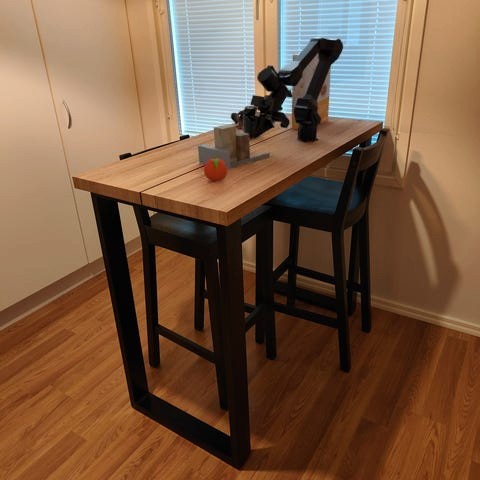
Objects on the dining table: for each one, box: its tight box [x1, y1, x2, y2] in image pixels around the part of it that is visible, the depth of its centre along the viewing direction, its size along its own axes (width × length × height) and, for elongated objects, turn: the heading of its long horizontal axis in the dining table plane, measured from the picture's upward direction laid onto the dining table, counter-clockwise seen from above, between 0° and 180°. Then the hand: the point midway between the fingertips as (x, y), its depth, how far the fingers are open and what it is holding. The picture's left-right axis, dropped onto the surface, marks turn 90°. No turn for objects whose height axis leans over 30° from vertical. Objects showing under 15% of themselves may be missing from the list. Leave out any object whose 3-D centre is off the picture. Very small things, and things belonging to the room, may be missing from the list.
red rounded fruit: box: [203, 158, 228, 183], centre depth 125 cm, size 8×7×7 cm
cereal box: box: [291, 53, 332, 130], centre depth 187 cm, size 22×6×30 cm, turn 143°
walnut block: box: [236, 130, 251, 161], centre depth 145 cm, size 4×9×9 cm, turn 42°
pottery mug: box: [230, 109, 244, 130], centre depth 195 cm, size 12×10×8 cm
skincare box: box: [213, 124, 237, 163], centre depth 141 cm, size 6×4×12 cm
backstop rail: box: [197, 143, 271, 171], centre depth 146 cm, size 21×14×6 cm, turn 132°
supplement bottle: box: [242, 105, 258, 139], centre depth 176 cm, size 7×7×12 cm
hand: (254, 137), depth 150 cm, fingers closed
